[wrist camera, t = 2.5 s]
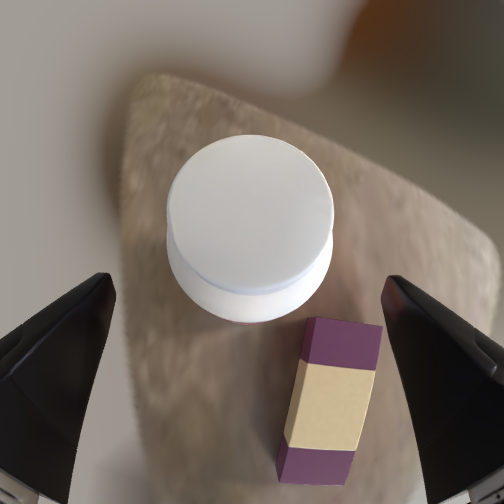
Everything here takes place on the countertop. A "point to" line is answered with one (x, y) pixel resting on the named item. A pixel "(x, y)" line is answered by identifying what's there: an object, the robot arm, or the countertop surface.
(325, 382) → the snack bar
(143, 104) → the countertop surface
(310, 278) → the pill bottle
